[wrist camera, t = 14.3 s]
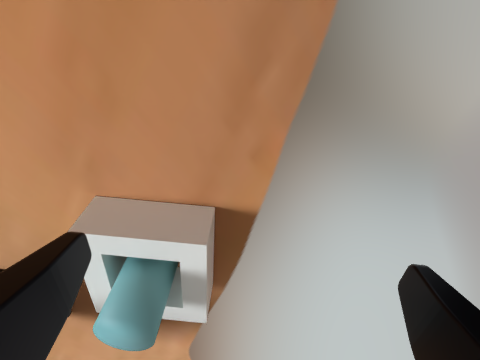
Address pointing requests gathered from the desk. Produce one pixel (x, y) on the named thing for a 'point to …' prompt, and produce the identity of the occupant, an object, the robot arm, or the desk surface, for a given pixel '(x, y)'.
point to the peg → (136, 304)
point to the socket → (151, 249)
